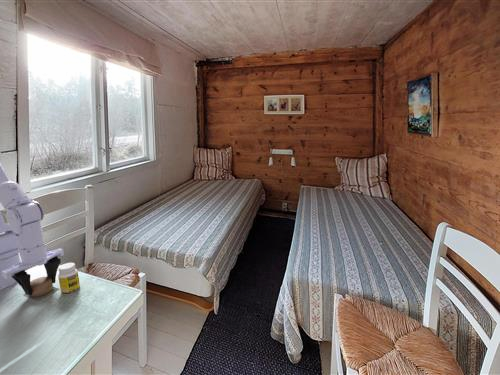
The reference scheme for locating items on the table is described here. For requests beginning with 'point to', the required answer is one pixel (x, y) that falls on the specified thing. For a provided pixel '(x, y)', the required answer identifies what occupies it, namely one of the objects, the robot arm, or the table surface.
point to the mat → (44, 295)
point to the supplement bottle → (68, 279)
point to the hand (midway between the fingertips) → (40, 287)
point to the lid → (41, 286)
